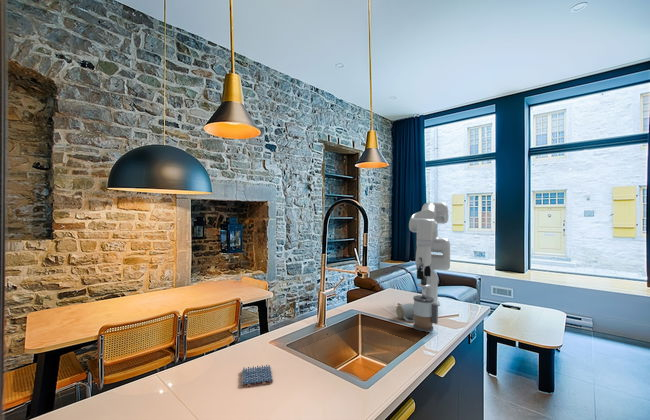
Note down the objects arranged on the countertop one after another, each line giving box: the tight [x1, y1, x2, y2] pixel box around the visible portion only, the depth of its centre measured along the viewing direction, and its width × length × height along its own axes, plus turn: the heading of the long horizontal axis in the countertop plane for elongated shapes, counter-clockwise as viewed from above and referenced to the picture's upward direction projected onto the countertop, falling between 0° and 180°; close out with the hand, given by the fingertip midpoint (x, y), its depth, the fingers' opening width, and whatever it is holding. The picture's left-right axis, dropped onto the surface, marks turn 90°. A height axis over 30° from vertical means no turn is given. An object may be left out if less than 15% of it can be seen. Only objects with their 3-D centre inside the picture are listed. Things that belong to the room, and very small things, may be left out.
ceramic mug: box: [395, 303, 414, 323], centre depth 159 cm, size 11×8×8 cm
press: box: [412, 294, 439, 332], centre depth 147 cm, size 10×12×15 cm
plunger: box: [417, 276, 430, 299], centre depth 147 cm, size 6×6×13 cm
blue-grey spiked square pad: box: [240, 364, 274, 389], centre depth 100 cm, size 10×11×2 cm
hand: (423, 277), depth 147 cm, fingers open, 9 cm apart
